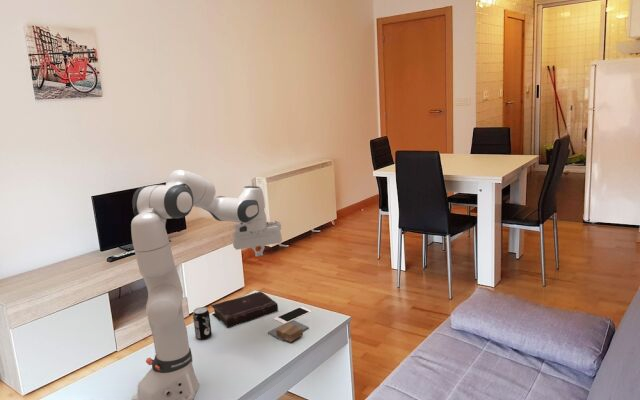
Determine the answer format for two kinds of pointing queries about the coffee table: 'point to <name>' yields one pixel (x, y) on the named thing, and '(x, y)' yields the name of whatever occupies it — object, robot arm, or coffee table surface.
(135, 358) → the coffee table surface
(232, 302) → the diary
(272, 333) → the mat
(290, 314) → the cell phone
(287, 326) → the wooden block
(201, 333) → the beverage can
